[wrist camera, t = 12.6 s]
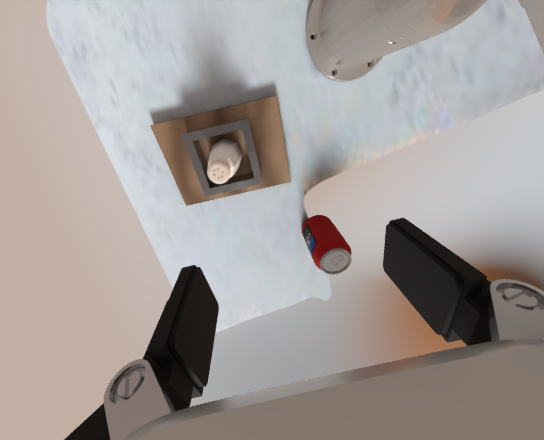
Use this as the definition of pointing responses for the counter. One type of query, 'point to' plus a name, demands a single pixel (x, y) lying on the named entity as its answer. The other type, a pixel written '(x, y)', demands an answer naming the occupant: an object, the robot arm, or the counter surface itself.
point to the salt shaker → (223, 161)
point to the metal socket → (201, 165)
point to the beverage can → (326, 245)
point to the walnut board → (263, 132)
